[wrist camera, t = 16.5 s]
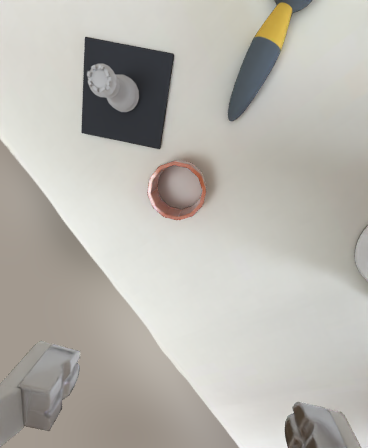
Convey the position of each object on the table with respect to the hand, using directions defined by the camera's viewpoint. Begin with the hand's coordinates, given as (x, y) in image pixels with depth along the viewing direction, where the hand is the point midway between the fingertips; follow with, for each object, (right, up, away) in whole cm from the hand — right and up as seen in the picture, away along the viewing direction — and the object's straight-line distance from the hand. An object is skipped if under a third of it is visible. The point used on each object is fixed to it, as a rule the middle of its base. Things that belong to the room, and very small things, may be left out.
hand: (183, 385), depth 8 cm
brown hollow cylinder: (-1, +12, +27) cm, 29 cm away
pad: (-8, +24, +24) cm, 35 cm away
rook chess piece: (-8, +24, +23) cm, 34 cm away
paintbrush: (+11, +29, +20) cm, 37 cm away
